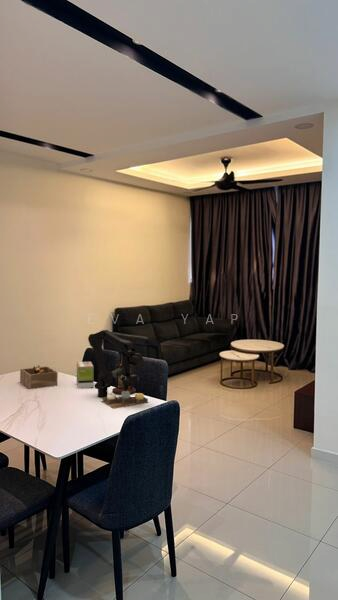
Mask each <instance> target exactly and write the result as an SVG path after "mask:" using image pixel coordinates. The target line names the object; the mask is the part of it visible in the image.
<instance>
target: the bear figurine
mask: <svg viewBox="0 0 338 600" xmlns="http://www.w3.org/2000/svg"><path fill="white" fill-rule="evenodd" d="M39 367H40V365H38V366H33V367H32V368H34V372H35V373H34V374H41V373H44V370H40V368H39Z"/></svg>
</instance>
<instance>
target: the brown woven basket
mask: <svg viewBox="0 0 338 600" xmlns="http://www.w3.org/2000/svg"><path fill="white" fill-rule="evenodd" d="M120 365H121V361H119V362H118V363H117V364H116V365H115V367H116V369H118V368H119V366H120ZM131 372H132V373H133V374H132V375H135V374H134V366H133V367H131ZM119 378H120V377H118V378H115V387H114V388H112V389H111V390H112V391H111V392H112V394H116V395H121V392H123V391H125V390H124V387H123V383H122V381H121V380H120V379H119ZM133 383H134V381H133V382H131V383H130V385H129V387H128V389H127V390H126V391H129V392H130V395H133V394H136V393H137V389H136V388H135V387H134V386H133Z"/></svg>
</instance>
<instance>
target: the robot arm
mask: <svg viewBox="0 0 338 600" xmlns="http://www.w3.org/2000/svg"><path fill="white" fill-rule="evenodd" d="M104 339H106V340H107V341H109V342H110V343H111V344H113V345H115V346H116V347H117V348H118V350H119V351H120V352H119V353H118V355H119V356H121V361H120V362H121V365H120V366H119V368H118V369H117V368H115V369H114V370H112V371H108V369H107V368H108V367H107V364H106V360H105V355H104V351H103V344H104ZM87 340H88V343H89V345H90V347H91V348H92V349H93V353H94V357H95V362H96V365H97V370H98V374H97V382H96V383H95V384H93V387H94V389H96V390H97V398H102V399H103V397H107V394H108V388H111V385H112V384H113V382H114V381H113V380H114V379H116V378H118V377H120V378H119V379H120V380H121V381H122V383H123V387H124V390H125V391H126V390H127V389H128V387H129V385H130V383H131V382H133V383H134V382H139V376H138V375H137V374H134V372H133V373H132V372H131V367H134V366H138V367H141V366H143V364H144V357H143V356H142V353H138V352H137V350H136V347H135V346H134V343H133V342H132V341H130V340H127V339H123V338H121V337H119V336H118V335H116V334H115V333H112V332H111V331H110V330H109V329H103V330H100V331H98V332H96V333H90V334H89V336H88V337H87ZM132 374H134V375H132ZM130 386H131V385H130Z"/></svg>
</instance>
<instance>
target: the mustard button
mask: <svg viewBox="0 0 338 600" xmlns="http://www.w3.org/2000/svg"><path fill="white" fill-rule="evenodd" d="M134 394H135V395H134V396H135V399H137V400H141V399H144V397H145V395H144V393H141V392H138V393H137V392H136V393H134Z"/></svg>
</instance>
